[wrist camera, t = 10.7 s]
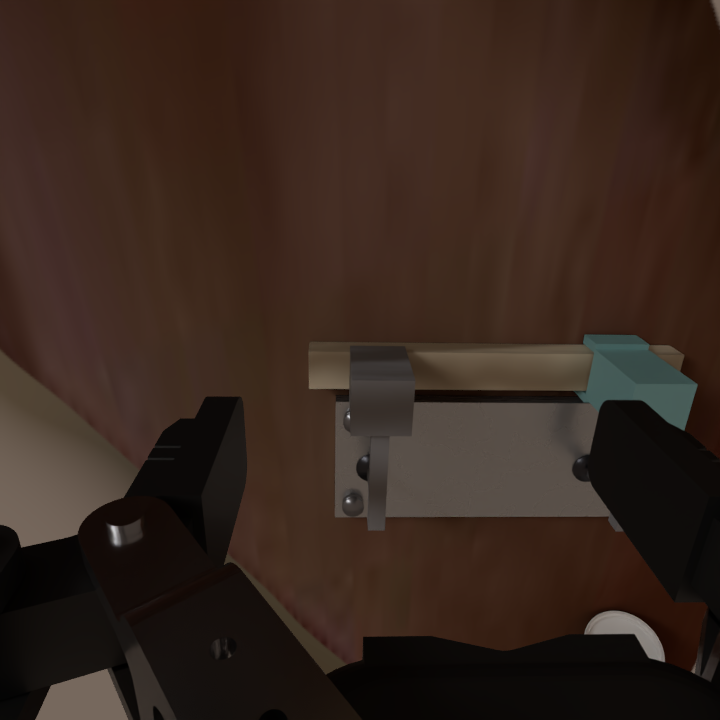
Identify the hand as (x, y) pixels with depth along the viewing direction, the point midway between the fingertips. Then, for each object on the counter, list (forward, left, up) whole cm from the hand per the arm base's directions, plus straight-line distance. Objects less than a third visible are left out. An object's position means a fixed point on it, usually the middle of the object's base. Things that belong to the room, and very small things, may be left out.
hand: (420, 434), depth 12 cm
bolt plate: (+19, +11, -28) cm, 35 cm away
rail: (+14, +10, -28) cm, 33 cm away
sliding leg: (+14, +19, -28) cm, 36 cm away
